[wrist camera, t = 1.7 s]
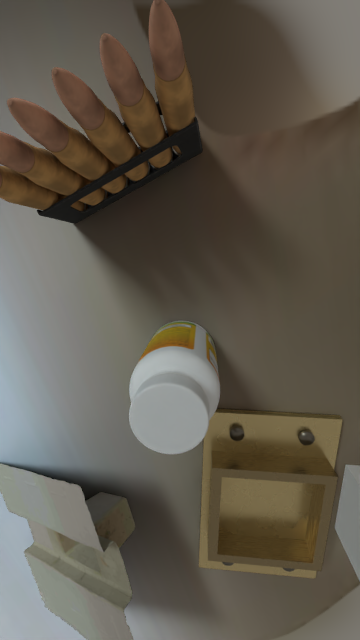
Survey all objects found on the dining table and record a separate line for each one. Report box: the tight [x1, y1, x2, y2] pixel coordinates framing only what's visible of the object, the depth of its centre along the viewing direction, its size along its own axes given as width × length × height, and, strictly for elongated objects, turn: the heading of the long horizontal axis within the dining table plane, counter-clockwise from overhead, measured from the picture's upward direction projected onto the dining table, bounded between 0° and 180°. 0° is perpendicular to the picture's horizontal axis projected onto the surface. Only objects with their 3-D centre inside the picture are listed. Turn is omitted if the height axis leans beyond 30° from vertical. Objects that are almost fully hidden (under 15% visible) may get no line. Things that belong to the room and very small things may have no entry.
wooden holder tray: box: [199, 409, 343, 579], centre depth 25 cm, size 17×11×3 cm, turn 179°
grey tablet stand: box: [0, 464, 135, 640], centre depth 25 cm, size 16×9×15 cm
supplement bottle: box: [129, 321, 220, 454], centre depth 19 cm, size 5×5×10 cm
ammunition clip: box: [0, 0, 202, 223], centre depth 15 cm, size 11×2×12 cm, turn 116°
